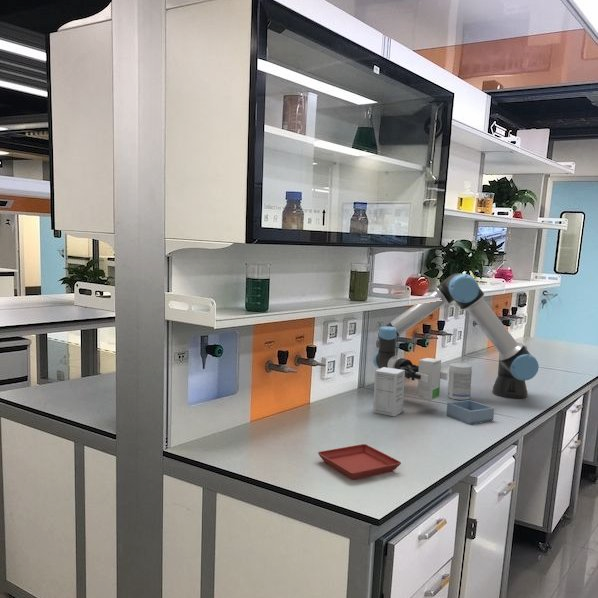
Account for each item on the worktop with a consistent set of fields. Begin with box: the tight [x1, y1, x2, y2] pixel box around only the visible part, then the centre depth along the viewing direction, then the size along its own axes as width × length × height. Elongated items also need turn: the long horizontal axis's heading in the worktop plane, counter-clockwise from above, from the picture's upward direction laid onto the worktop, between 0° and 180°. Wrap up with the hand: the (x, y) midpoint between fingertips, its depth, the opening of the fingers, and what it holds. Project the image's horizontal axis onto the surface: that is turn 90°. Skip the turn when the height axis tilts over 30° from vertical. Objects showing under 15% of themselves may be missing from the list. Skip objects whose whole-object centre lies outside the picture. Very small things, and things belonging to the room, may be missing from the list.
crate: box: [446, 399, 495, 425], centre depth 225 cm, size 12×12×5 cm
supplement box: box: [372, 367, 406, 417], centre depth 228 cm, size 10×9×17 cm
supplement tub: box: [447, 362, 473, 401], centre depth 255 cm, size 10×10×15 cm
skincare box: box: [417, 357, 442, 401], centre depth 233 cm, size 8×7×16 cm
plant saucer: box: [317, 443, 402, 480], centre depth 171 cm, size 18×18×3 cm
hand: (437, 377), depth 229 cm, fingers closed on skincare box, 9 cm apart
